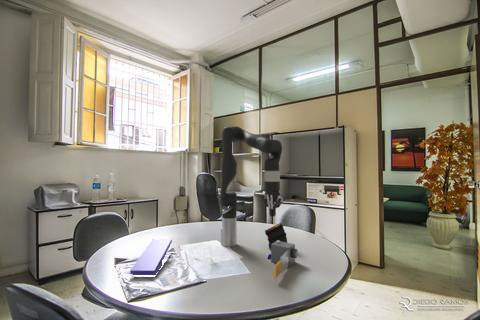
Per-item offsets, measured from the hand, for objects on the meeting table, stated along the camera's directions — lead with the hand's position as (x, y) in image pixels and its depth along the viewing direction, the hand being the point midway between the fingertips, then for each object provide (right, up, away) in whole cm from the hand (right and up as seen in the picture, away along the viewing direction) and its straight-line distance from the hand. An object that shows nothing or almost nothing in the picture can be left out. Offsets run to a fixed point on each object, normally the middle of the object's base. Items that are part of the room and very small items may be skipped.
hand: (272, 216), depth 112 cm
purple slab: (-59, -26, +5) cm, 65 cm away
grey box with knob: (+7, -25, +7) cm, 27 cm away
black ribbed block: (+6, -26, +27) cm, 38 cm away
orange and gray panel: (+3, -24, -7) cm, 25 cm away
